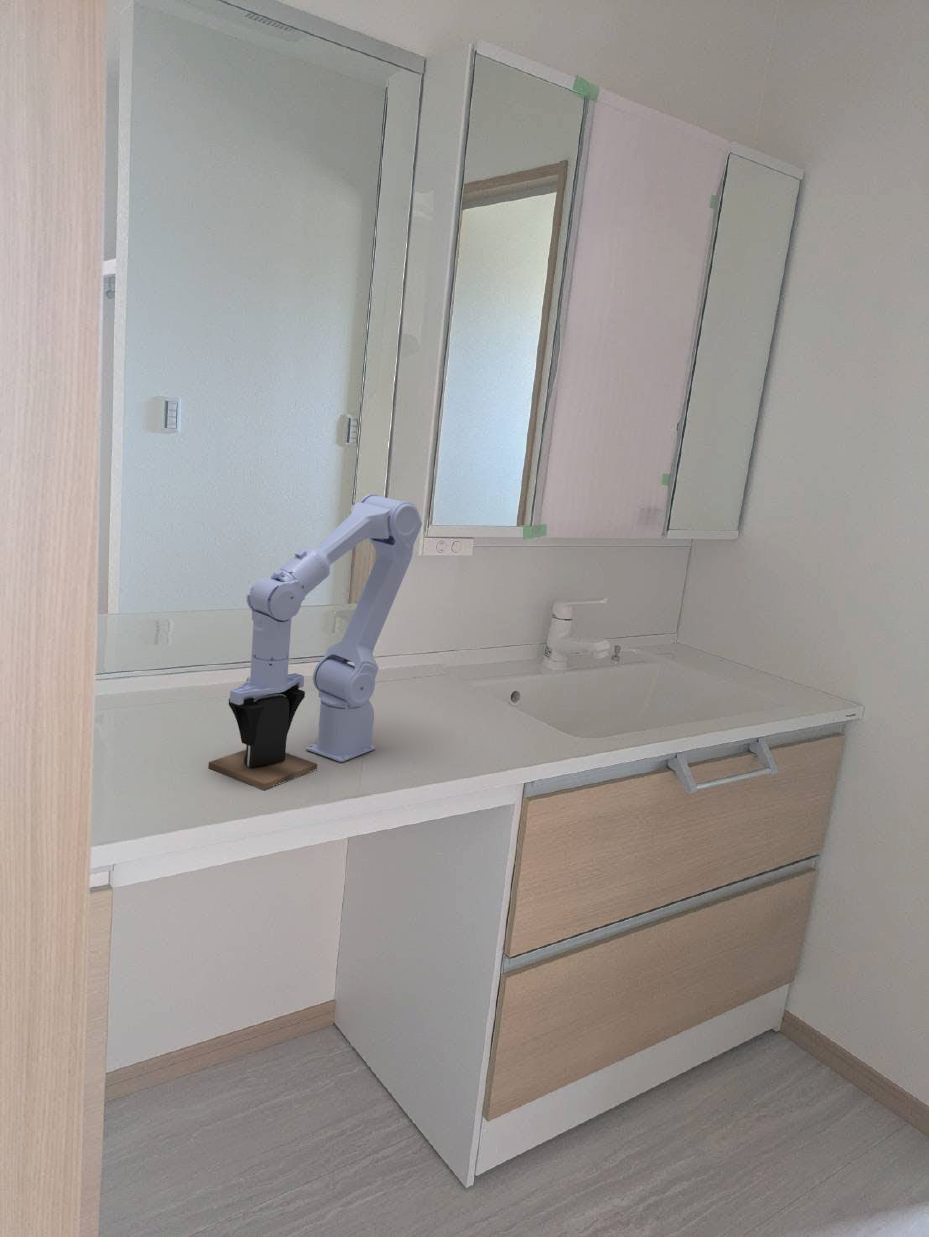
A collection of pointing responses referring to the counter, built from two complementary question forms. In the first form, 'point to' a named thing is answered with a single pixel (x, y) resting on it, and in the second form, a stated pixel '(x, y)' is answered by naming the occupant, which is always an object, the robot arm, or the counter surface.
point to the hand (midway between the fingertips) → (265, 738)
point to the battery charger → (269, 732)
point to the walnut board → (262, 769)
